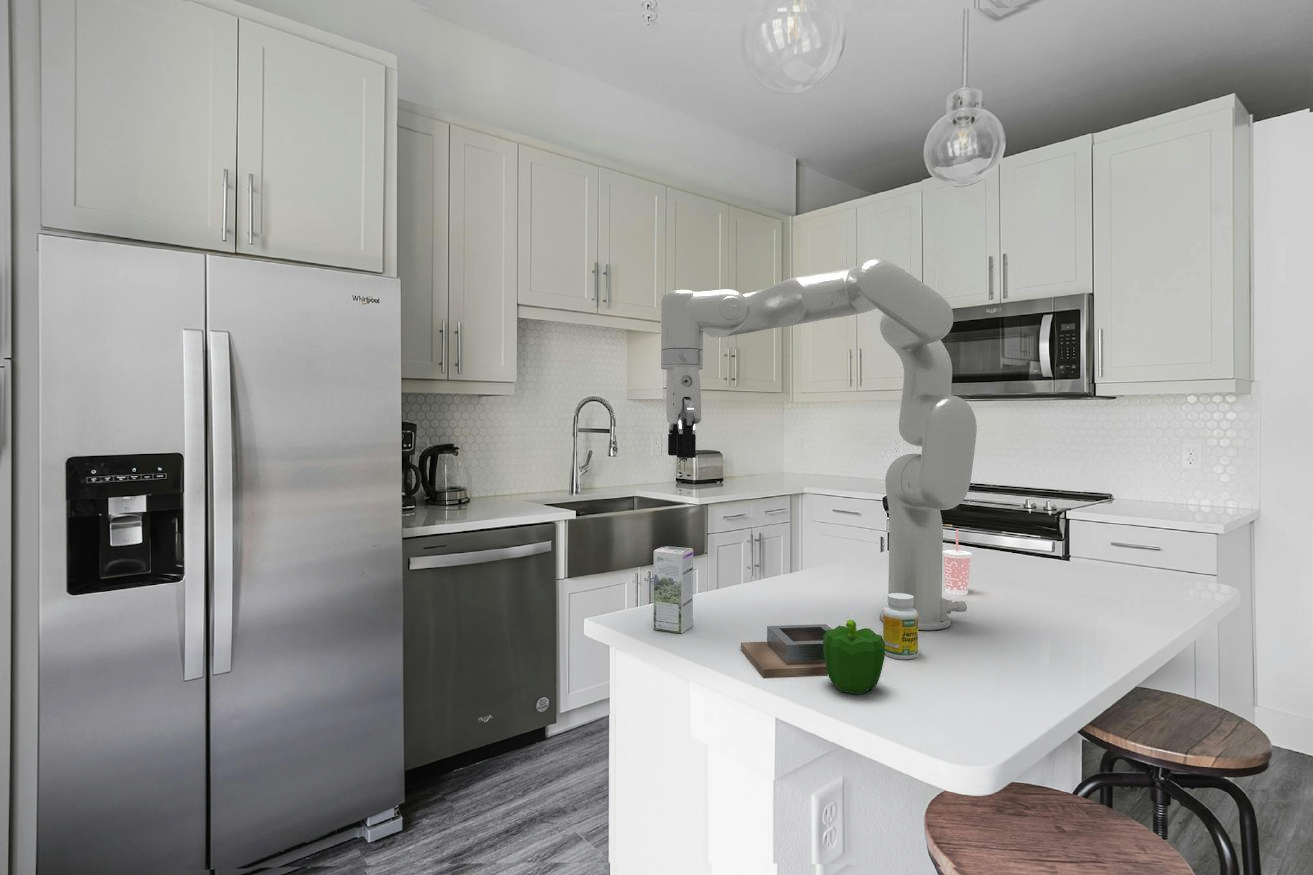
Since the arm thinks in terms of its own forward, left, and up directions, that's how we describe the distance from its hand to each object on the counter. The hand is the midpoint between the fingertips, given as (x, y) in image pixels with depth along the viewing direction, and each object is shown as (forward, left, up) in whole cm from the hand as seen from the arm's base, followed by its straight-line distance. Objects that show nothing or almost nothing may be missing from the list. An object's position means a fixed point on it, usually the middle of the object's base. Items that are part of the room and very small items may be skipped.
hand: (681, 456), depth 127 cm
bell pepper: (-19, +31, -31) cm, 48 cm away
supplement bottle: (-33, +18, -31) cm, 49 cm away
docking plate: (-17, +19, -31) cm, 40 cm away
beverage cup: (-66, -21, -31) cm, 76 cm away
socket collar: (-17, +19, -30) cm, 39 cm away
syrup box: (+1, -1, -31) cm, 31 cm away
